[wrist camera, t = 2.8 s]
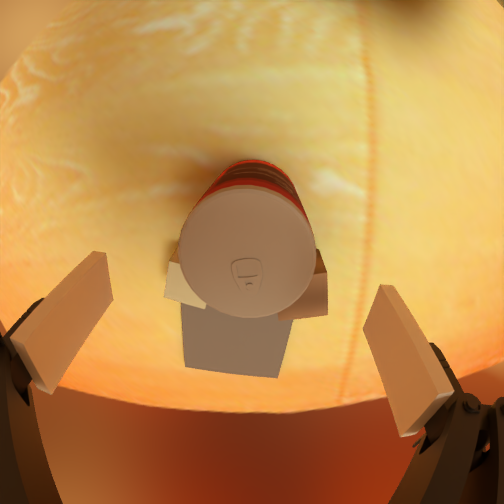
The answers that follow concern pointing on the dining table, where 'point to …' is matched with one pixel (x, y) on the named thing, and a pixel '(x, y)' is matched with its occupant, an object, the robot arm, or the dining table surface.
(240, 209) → the canned food
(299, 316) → the walnut block
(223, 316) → the slate coaster
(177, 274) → the beige block
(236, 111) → the dining table surface
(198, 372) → the dining table surface
